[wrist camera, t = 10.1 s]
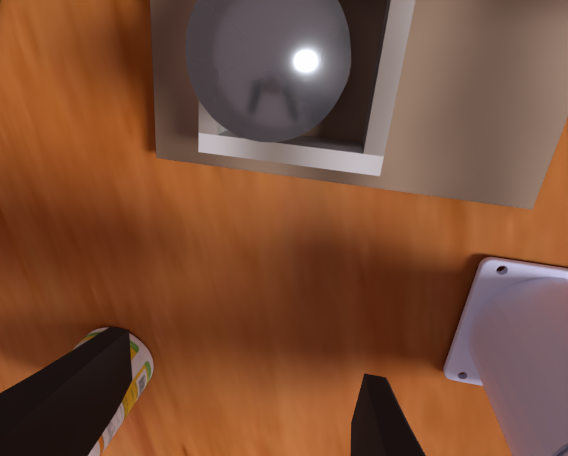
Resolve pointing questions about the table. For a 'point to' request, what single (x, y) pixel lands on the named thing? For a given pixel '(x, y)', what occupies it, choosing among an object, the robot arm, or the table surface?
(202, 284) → the table surface
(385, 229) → the table surface
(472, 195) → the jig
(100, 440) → the supplement bottle
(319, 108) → the grey metal cylinder
